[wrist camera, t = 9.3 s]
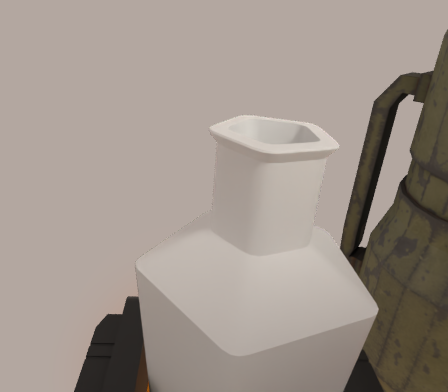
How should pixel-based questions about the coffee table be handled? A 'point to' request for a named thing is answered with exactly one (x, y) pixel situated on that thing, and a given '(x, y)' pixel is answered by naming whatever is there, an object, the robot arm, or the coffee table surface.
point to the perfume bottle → (255, 275)
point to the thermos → (406, 239)
